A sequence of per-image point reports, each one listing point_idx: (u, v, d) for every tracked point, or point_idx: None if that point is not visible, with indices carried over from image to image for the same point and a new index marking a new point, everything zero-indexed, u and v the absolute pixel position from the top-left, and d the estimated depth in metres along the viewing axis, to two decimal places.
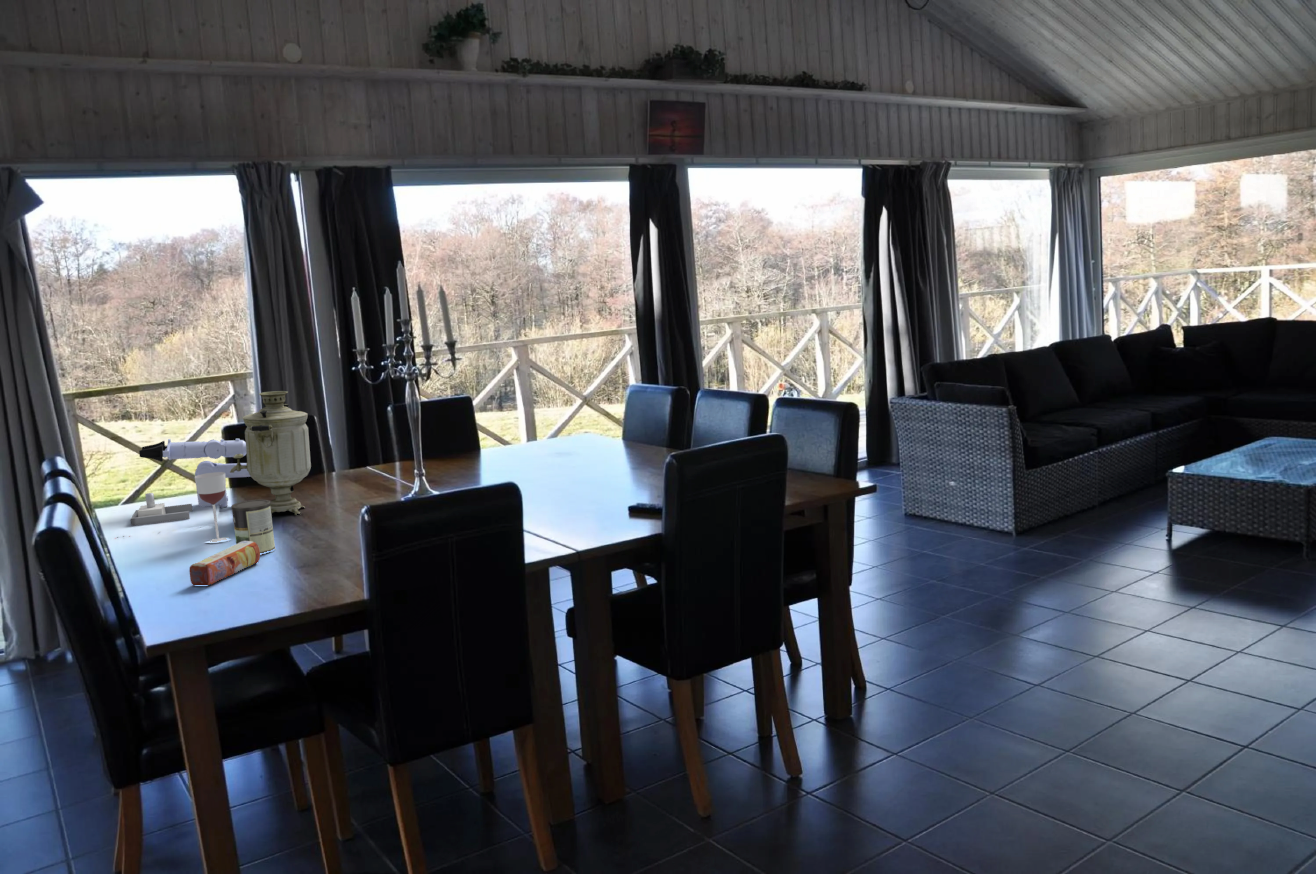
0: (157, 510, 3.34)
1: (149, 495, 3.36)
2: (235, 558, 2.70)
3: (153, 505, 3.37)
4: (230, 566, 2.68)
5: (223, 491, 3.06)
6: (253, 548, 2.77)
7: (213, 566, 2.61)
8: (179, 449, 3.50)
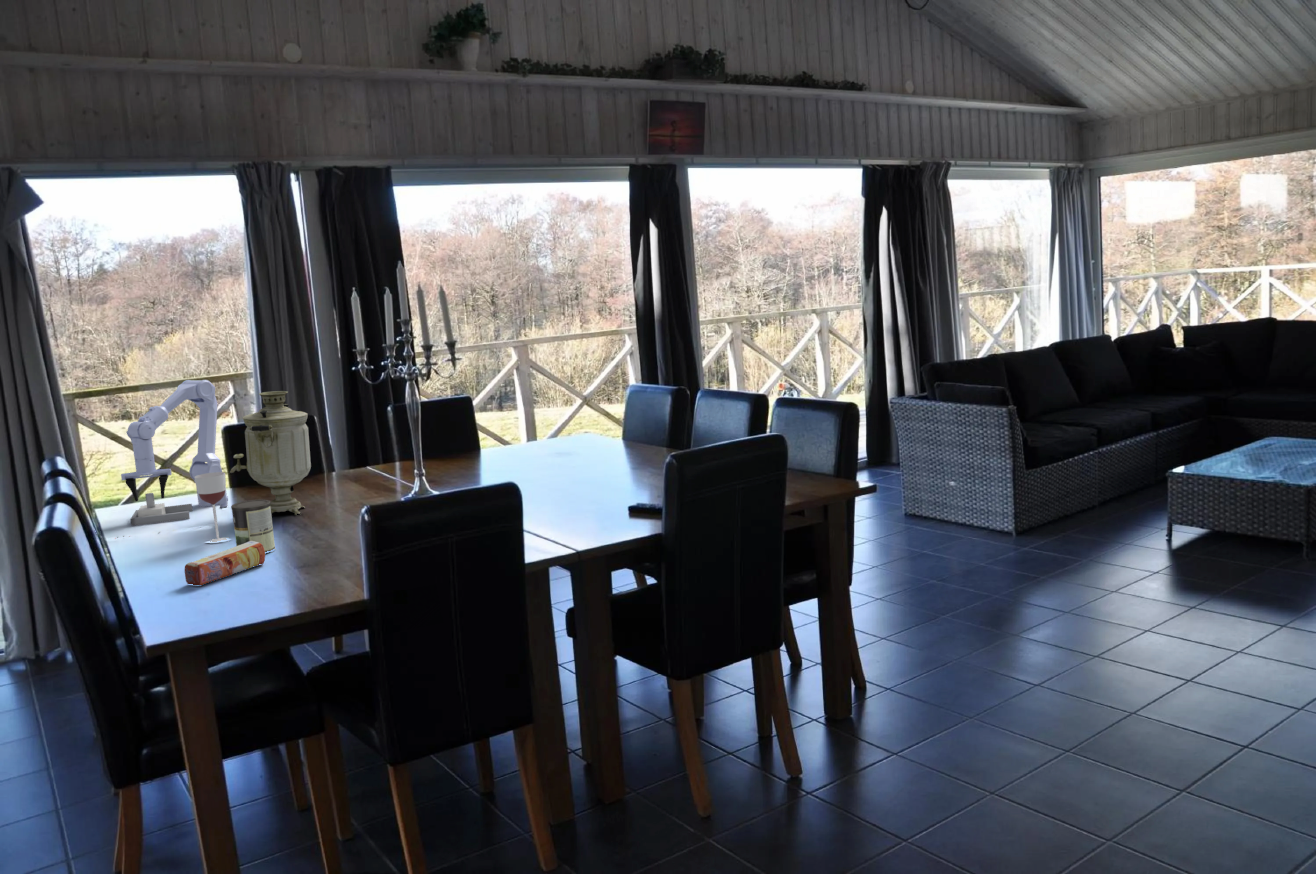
0: (157, 510, 3.34)
1: (149, 495, 3.36)
2: (234, 559, 2.69)
3: (153, 505, 3.37)
4: (227, 567, 2.67)
5: (223, 491, 3.06)
6: (257, 549, 2.76)
7: (205, 566, 2.61)
8: (154, 462, 3.36)
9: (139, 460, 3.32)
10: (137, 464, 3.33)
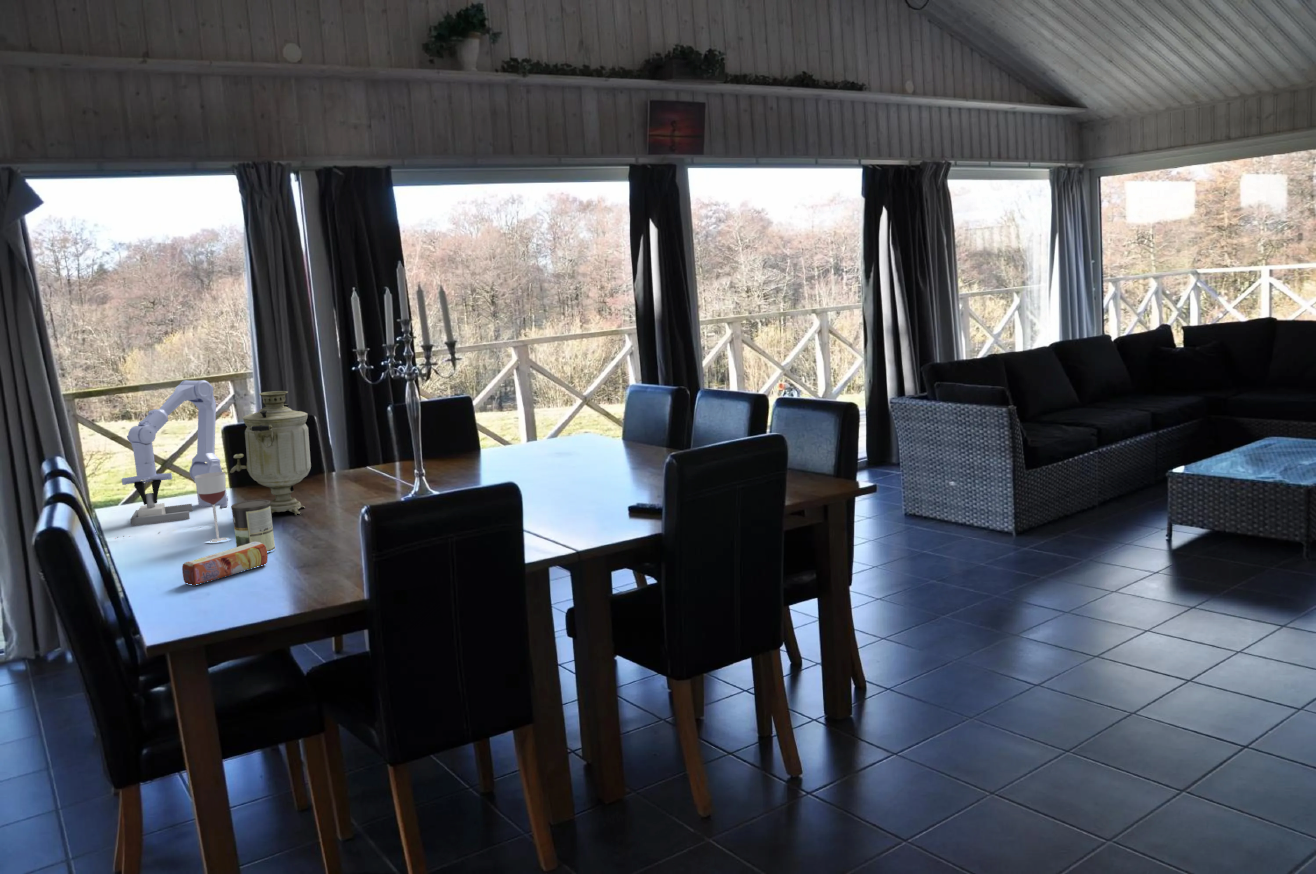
0: (157, 510, 3.34)
1: (149, 495, 3.36)
2: (232, 559, 2.69)
3: (153, 505, 3.37)
4: (225, 567, 2.67)
5: (223, 491, 3.06)
6: (259, 550, 2.75)
7: (200, 566, 2.62)
8: (154, 466, 3.36)
9: (140, 464, 3.33)
10: (138, 468, 3.33)
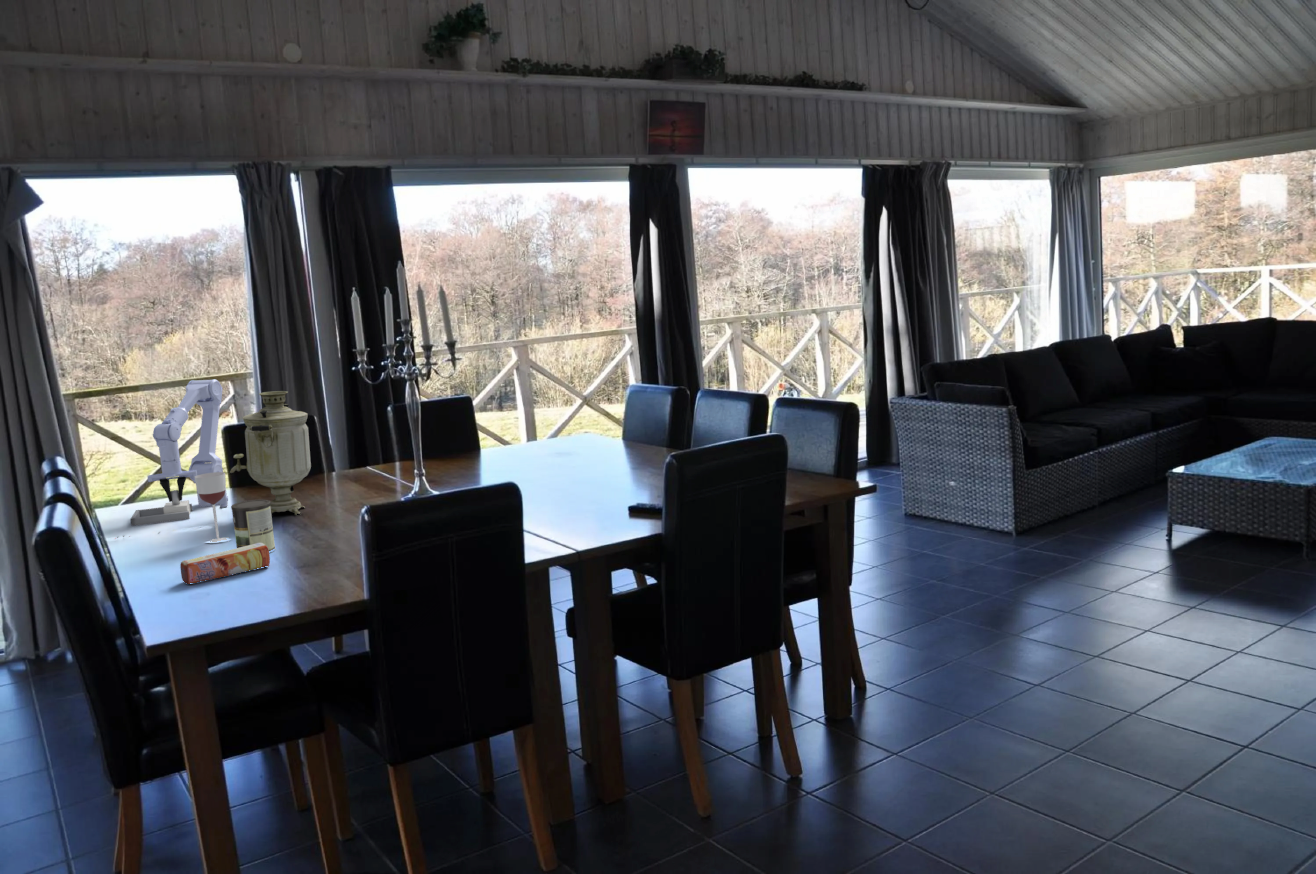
0: (182, 507, 3.37)
1: (174, 492, 3.39)
2: (230, 560, 2.68)
3: (178, 502, 3.40)
4: (222, 568, 2.67)
5: (223, 491, 3.06)
6: (260, 552, 2.73)
7: (194, 566, 2.62)
8: (179, 463, 3.38)
9: (165, 462, 3.35)
10: (163, 466, 3.36)
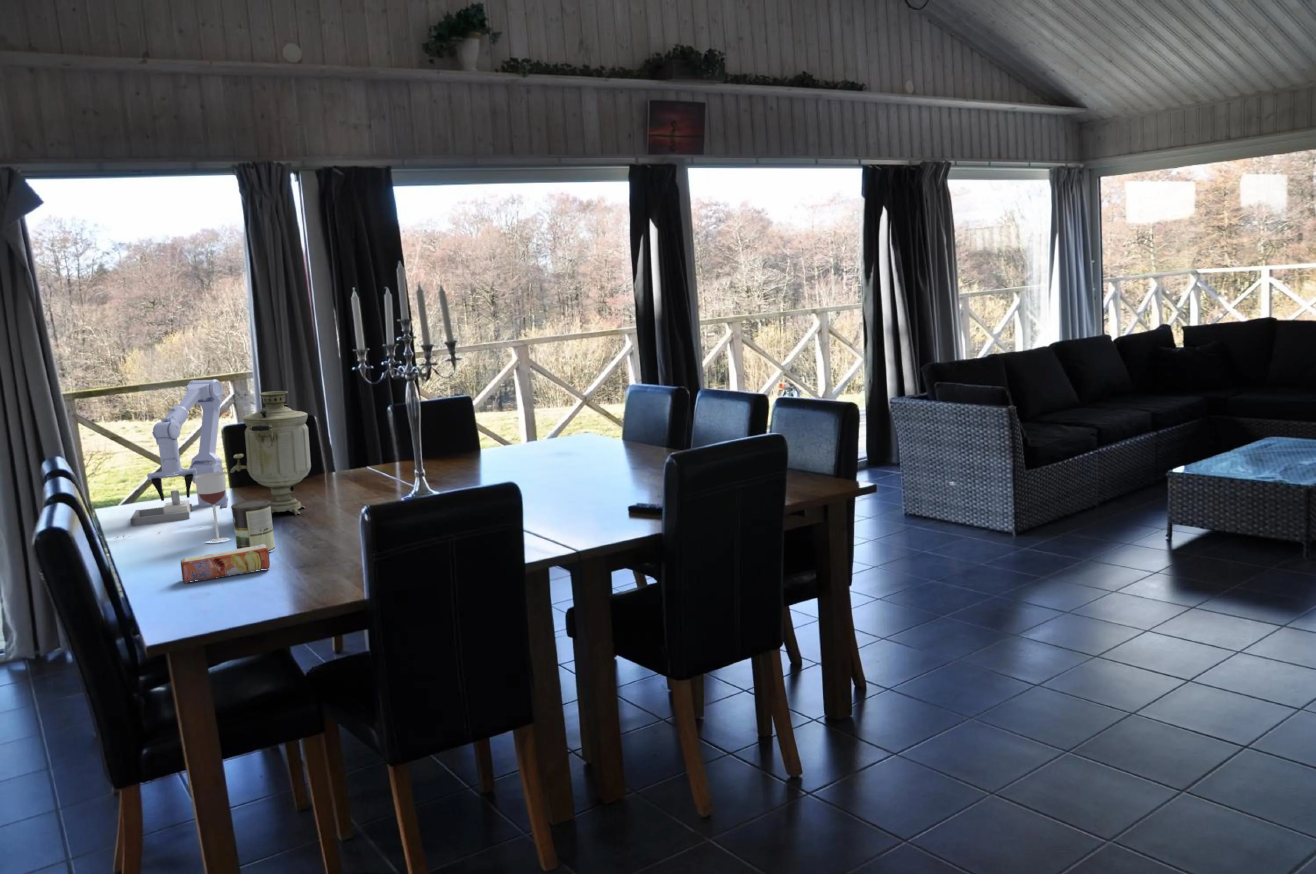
0: (182, 507, 3.37)
1: (174, 492, 3.39)
2: (226, 561, 2.67)
3: (178, 502, 3.40)
4: (218, 568, 2.67)
5: (223, 491, 3.06)
6: (258, 554, 2.70)
7: (190, 565, 2.64)
8: (179, 461, 3.38)
9: (165, 460, 3.35)
10: (163, 464, 3.36)
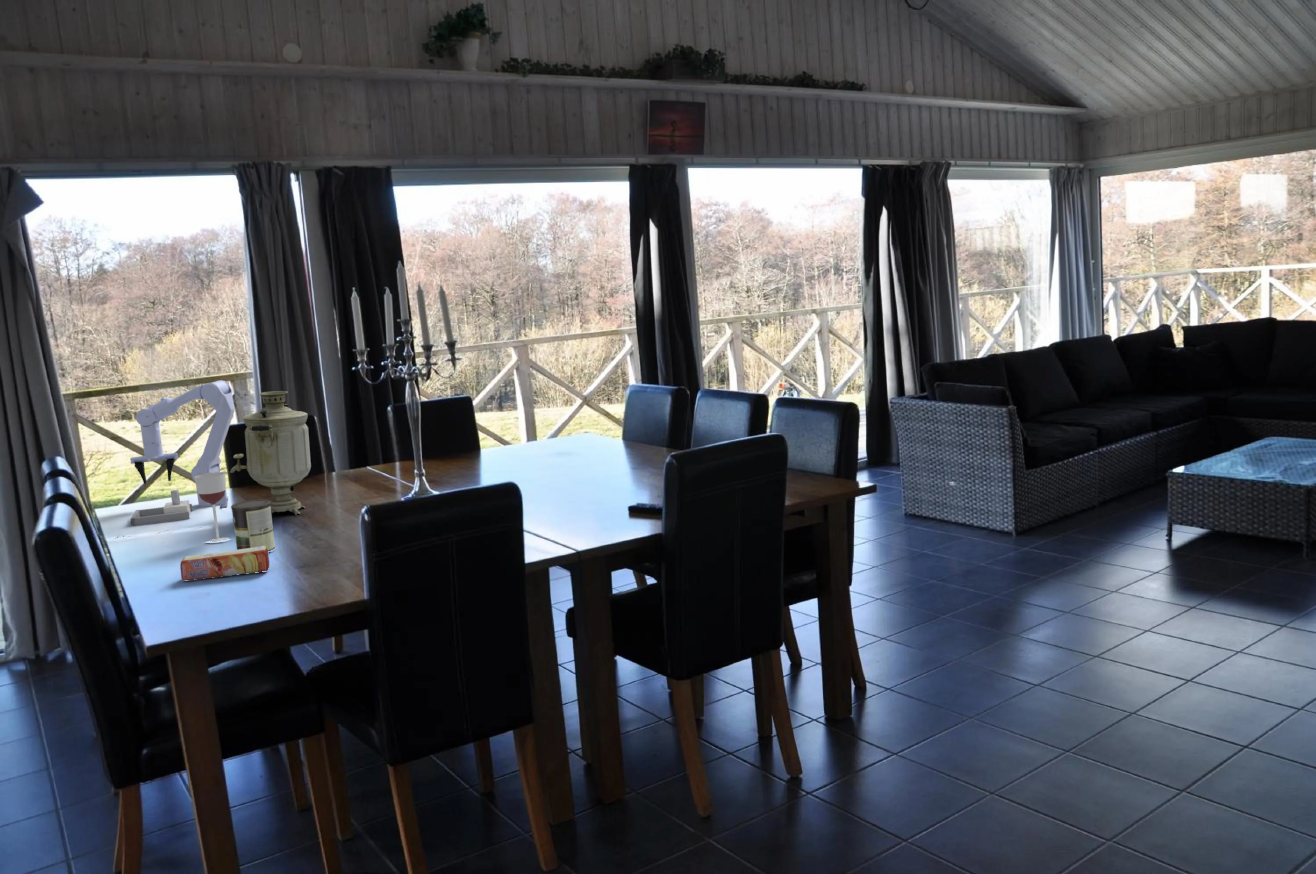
0: (182, 507, 3.37)
1: (174, 492, 3.39)
2: (224, 561, 2.67)
3: (178, 502, 3.40)
4: (216, 568, 2.67)
5: (223, 491, 3.06)
6: (256, 556, 2.69)
7: (188, 564, 2.65)
8: (161, 446, 3.55)
9: (147, 444, 3.52)
10: (145, 448, 3.52)
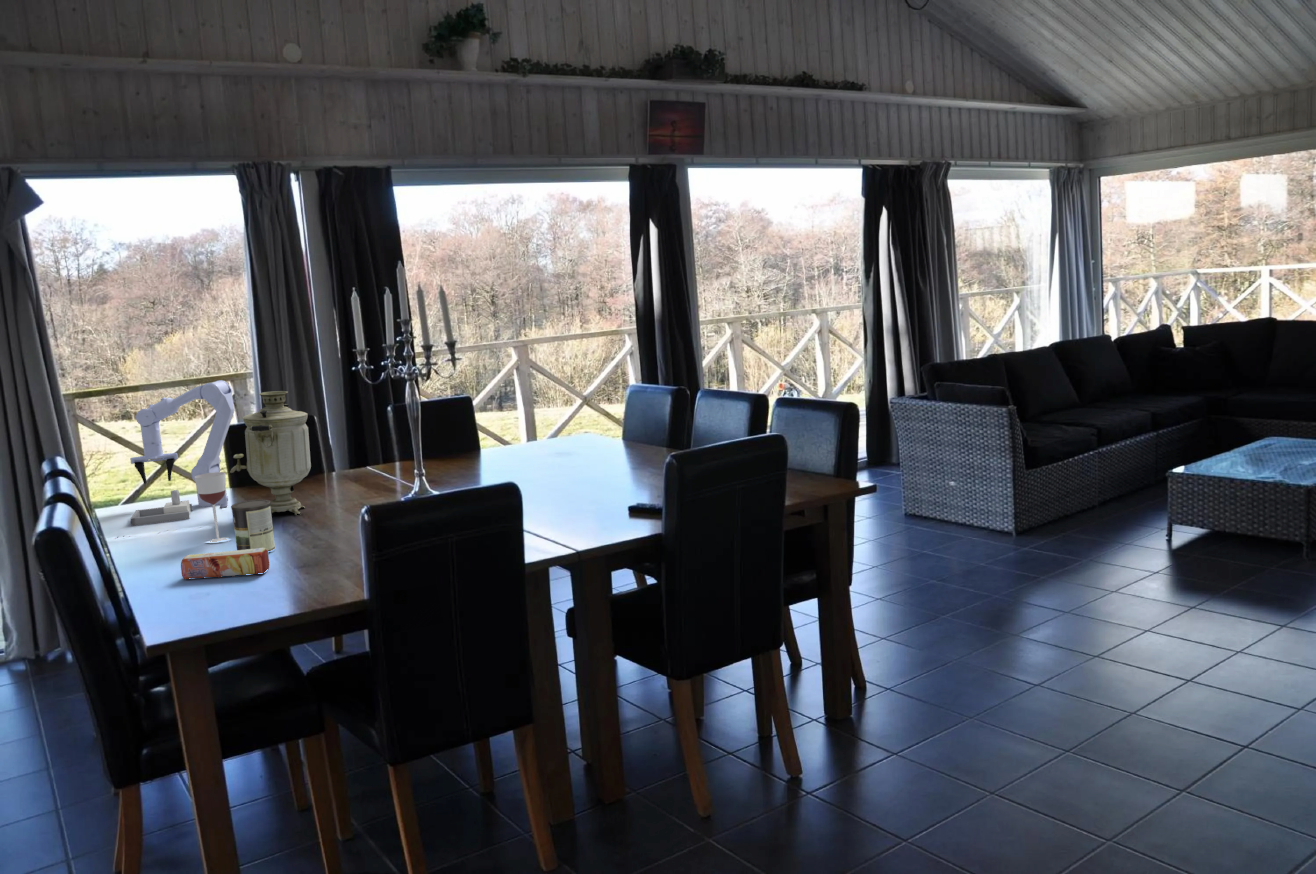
0: (182, 507, 3.37)
1: (174, 492, 3.39)
2: (221, 562, 2.67)
3: (178, 502, 3.40)
4: (214, 568, 2.67)
5: (223, 491, 3.06)
6: (252, 558, 2.67)
7: (187, 562, 2.66)
8: (161, 446, 3.55)
9: (147, 445, 3.52)
10: (145, 448, 3.52)
